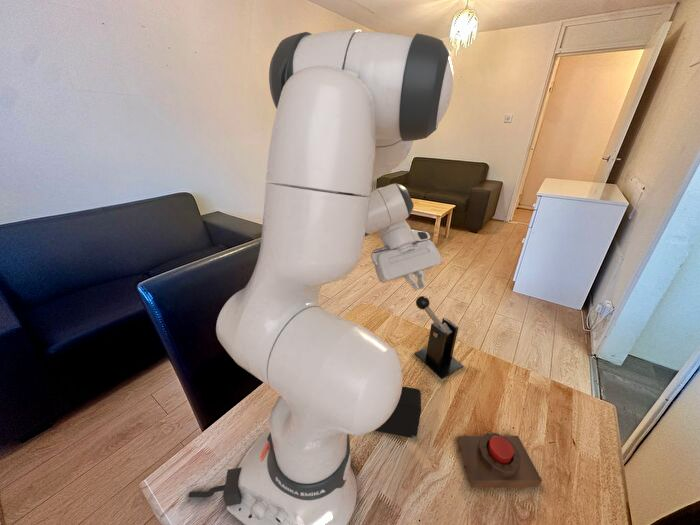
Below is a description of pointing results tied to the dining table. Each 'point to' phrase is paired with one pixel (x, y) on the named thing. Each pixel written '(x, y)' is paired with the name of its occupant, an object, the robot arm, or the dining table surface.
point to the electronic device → (404, 414)
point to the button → (500, 449)
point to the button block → (497, 464)
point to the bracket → (440, 350)
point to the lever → (431, 313)
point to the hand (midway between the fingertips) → (420, 288)
